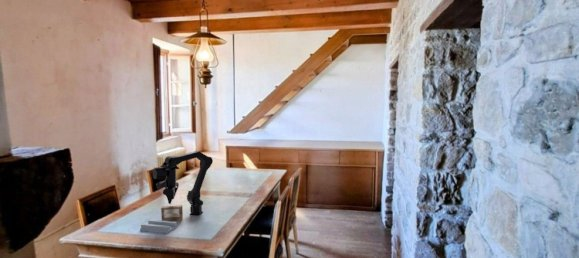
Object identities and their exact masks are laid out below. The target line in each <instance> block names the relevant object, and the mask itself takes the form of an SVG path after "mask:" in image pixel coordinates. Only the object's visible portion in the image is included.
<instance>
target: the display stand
mask: <svg viewBox="0 0 579 258" xmlns="http://www.w3.org/2000/svg"><path fill="white" fill-rule="evenodd" d="M147 222H148V223H142V224H140V228H139V231H141V232H150V233H160V234H170V233H171V232H172V231H173V230H176V228H178V227H179V226H178V224H177V223H178V221H172V222H171V221H162V219H160V220H159V219H148V220H147Z"/></svg>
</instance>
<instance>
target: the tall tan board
mask: <svg viewBox="0 0 579 258" xmlns="http://www.w3.org/2000/svg"><path fill="white" fill-rule="evenodd" d="M160 211H161V221H171V222H182V221H183V220H184V217H183V214H184V213H183V205H182V204H181V205H179V204H178V205H165V206H161V208H160Z"/></svg>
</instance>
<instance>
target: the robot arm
mask: <svg viewBox="0 0 579 258" xmlns="http://www.w3.org/2000/svg"><path fill="white" fill-rule="evenodd" d="M193 159H197V160H198V161H199V170H198V173H197V176H196V179H195V181H194V184H193V187H192V189H191V190H188V191H187V195H186V200H187V202H188V204H189V205H190V206H189V207H190V209H189V211H190V213H189V216H200V215H201V214H203V212H204V211H203V208H202V206H203V205H204V201H203V200H201V189H202V187H203V183H204V180H205V177H206V175H207V171H208V170H209V169H210V168H211V166H212V165H213V160H214V159H213V157H211V156H208V155H207V154H204V153H202V151H200V150H195V151H192V152H188V153H184V154H180V155H168V156H166V157H165V159H164V161H163V163H162V164H161V166H159V167H154V168H153V171H152V178H153V179H154V180H159V179H164V180H163V181H159V182H157V183H155V185H156V186H155V187H156V188H157V190H160V189H162V195H164V196H166V199H167V203H168V204H169V205H171V204H172V201H173V200H174V199H175V197H176V194H177V191H178V189H179V186H180V185H179V182H177V170H179V169H180V167H179V166H178V165H179V164H181V163H183V162H186V161H190V160H193ZM163 188H164V189H163Z"/></svg>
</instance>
